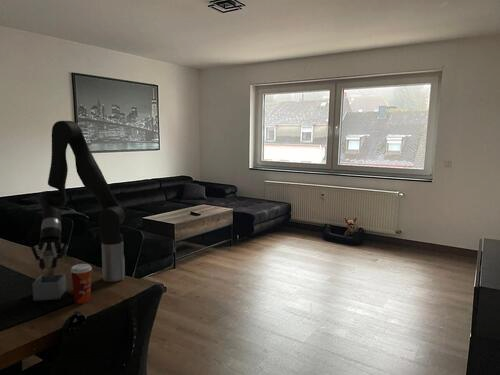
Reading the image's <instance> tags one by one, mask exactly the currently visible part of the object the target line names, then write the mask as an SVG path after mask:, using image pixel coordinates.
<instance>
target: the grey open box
mask: <svg viewBox="0 0 500 375" xmlns="http://www.w3.org/2000/svg"><path fill="white" fill-rule="evenodd" d="M31 285H32V301H34V302H36V301H38V302H39V301H51V300H52V301H53V300H54V299H55V300H60V299H61V298H62V296H63V295H64V293H65V292H66V291H67V278H66V273H58V274H57V273H54V276H52V277H44V274H40V276H38V278H36V280H34V282H32V284H31ZM55 300H54V301H55Z"/></svg>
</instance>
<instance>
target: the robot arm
mask: <svg viewBox="0 0 500 375" xmlns="http://www.w3.org/2000/svg"><path fill="white" fill-rule="evenodd" d="M68 145H69V147H70V149H71V150H72V153H73V156H74V160H75V161H74V162H75V170H76V173H77V175H78V177H79V180H80V181H81V183H82V184H83V186H84V188H86V190H87V191H88V192H89V193H90V194H91V195H92V196H93V197H94V198H95V199H96V200H97V201H98V203H99V205H100V207H101V211H100V213H99V215H98V231H99V238H100V241H101V263H102V264H101V265H102V266H101V267H102V268H101V269H102V272H101V273H102V281H103V282H108V283H114V282H118V281H124V278H125V276H126V270H125V269H126V268H125V266H126V265H125V261H126V260H125V255H124V235H123V234H121V224H122V223H123V222H124V221H125V218H126V216H125V215H126V214H125V212H124V210H123V207H122V206H121V205H120V203H119V202H118V200H117V199H116V197H115V195H114V194H113V192H112V191H111V189H110V186H109V184H108V182H107V181H106V178H105V176H104V174H103V172H102V170H101V168H100V166H99V165H98V163H97V161H96V159H95V158H94V155H93V153H92V151H91V150H90V147H89V145H88V142H87V141H86V138H85V135H84V133H83V131H82V129H81V127H80V125H79V123H77V122H75V121H72V120H59V121H56V122H55V123H54V124H53V125H52V128H51V161H50V168H49V172H48V178H47V179H48V180H47V185H48V186H49V187H50V188H53V189H56V190H58V191H50V190H44V191H43V192H41V194H40V196H39V202H40V205H41V209H42V222H41V227H40V236H39V242H38V244H37V245H30V249H31V252H32V254H33V256H34V259H35V261H39V263H38V266H39V269H41V270H44V262H43V252H44V251H53V263H52V267H53V269H54V270H55V268H56V267H57V266H58V260H59V259H63V257H64V255H65V253H66V252H67V250H68V247H69V246H68V243H66V242H65V243H62V242H61V237H62V236H61V234H62V211H61V210H60V209H62V208H63V207H65V206H66V205H67V202H68V200H67V193H66V192H67V191H66V185H67V184H66V182H67V177H68V172H69V168H68V161H67V148H68ZM39 249H40V250H41V252H40V255H39V254H38V251H39ZM59 249H60V251H59V253H58V254H57V251H58V250H59Z"/></svg>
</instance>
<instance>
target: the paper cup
mask: <svg viewBox="0 0 500 375" xmlns="http://www.w3.org/2000/svg"><path fill="white" fill-rule="evenodd" d="M92 270H93V267H92V266H91V265H90V264H89V263H78V264H75V265H72V266H71V269H70V273H71V280H72V288H73V298H74V303H75V304H85V303H88V302H90V300H91V293H92V292H91V290H92V289H91V285H92V284H91V283H92Z"/></svg>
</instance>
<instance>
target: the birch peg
mask: <svg viewBox="0 0 500 375" xmlns="http://www.w3.org/2000/svg"><path fill="white" fill-rule="evenodd" d="M53 258H54V256H53V251H44V252H43V262H44V269H43V275H44V277H52V276H54V274H55V271H54V270H55V268H54V269H53V267H52V263H53Z"/></svg>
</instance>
